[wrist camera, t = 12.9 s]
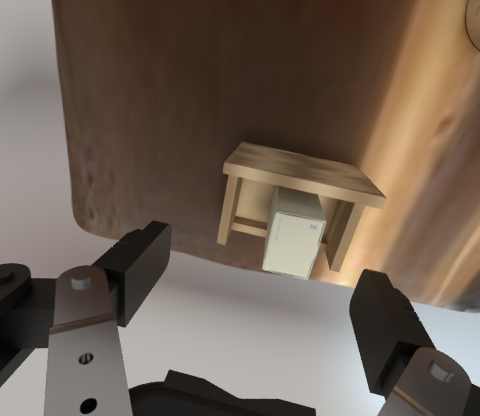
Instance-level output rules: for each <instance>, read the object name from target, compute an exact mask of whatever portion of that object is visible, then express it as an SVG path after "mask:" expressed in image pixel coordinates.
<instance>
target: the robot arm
mask: <svg viewBox="0 0 480 416" xmlns="http://www.w3.org/2000/svg"><path fill="white" fill-rule="evenodd" d="M466 26H467V31H468V34H469V37H470V39H471V41H472V42H473V44H474V45H475V46H476V47H477V48H478V49H479V50H480V0H469V2H468V5H467V12H466ZM171 232H172V227H171V225H170V224H166V223H162V222H158V221H152V222H151V223H150V224H148V225H147V226H146V227H145V228H144V229H143V230H140V229H137V230H134V231H132V232H130V233H127V234H126V235H125V236H124V237H123V238H121V239H120V240H119V242H117V243H116V244H115V245H114V246H113V247H111V248H110V249H109V250H108V251H107V252H106V253H105V254H103V255H102V256H101V257H100V258H99V259H98V260H97V261H95V262H94V263H93V264H92V265H91V266H87V265H85V266H78V267H74V268H71V269H69V270H67V271H65V272H64V273H62V274H61V275H60V276H59V277H58V278H56V279H50V278H47V279H45V278H31V274H30V269H29V268H28V267H27V266H25V265H22V264H15V263H8V264H1V265H0V387H1V386H2V385H3V384H4V383H5V382H6V381H7V379H8V378H9V377H10V376H11V375H12V374H13V373H14V371H15V370H16V369H17V368H18V367H19V366H20V365H21V364H22V363H23V362H24V360H25V359H26V358H27V357H28V356H29V355H30V354H31V353H32V352H33V350H34V349H35V348H48V360H47V375H46V389H45V404H44V416H316V410H315V409H314V408H310V407H306V406H303V405H299V404H295V403H292V402H288V401H284V400H281V399H240V398H237V397H235V396H233V395H231V394H230V393H228V392H226V391H224V390H223V389H221V388H219V387H217V386H215V385H214V384H212V383H210V382H209V381H207V380H205V379H203V378H199V377H195V376H192V375H188V374H184V373H180V372H177V371H173V370H169V371H168V374H167V376H166V378H165V381H164V382H151V383H146V384H142V385H138V386H136V387H133V388H130V389H128V385H127V380H126V374H125V368H124V362H123V357H122V351H121V345H120V339H119V334H118V327H117V326H121V327H126V326H127V324H128V323H129V322H130V320H131V318H132V317H133V316H134V314H135V313H136V311H137V310H138V308H139V307H140V306H141V304H142V303H143V301H144V300H145V298H146V297H147V295H148V294H149V293H150V291H151V290H152V288H153V287H154V285H155V284H156V282H157V281H158V280H159V278H160V277H161V275H162V274H163V272H164V271H165V269H166V267H167V265H168V262H169V257H170V245H171ZM349 312H350V318H351V322H352V325H353V329H354V333H355V337H356V340H357V344H358V348H359V352H360V356H361V360H362V364H363V367H364V371H365V375H366V379H367V383H368V387H369V390H370V393H374V394H377V395H381V396H384V397H385V400H386V402H385V404H384V405H383V407H382V409H381V410H380V412H379V414H378V416H480V387H478V386H476V385H474V384H472V383H471V381H470V379H469V376H468V375H467V373H466V372H465V370H464V369H463V368H462V367H461V366H460V365H459V364H458V363H457V362H455V360H453V359H452V358H451V357H449V356H448V355H446V354H444V353H443V352H440V351H438V350H436V348H435V346H434V344H433V343H432V341H431V339H430V337H429V335H428V334H427V332H426V330H425V328H424V326H423V325H422V323H421V321H419V317H418V316H417V314H416V312H414V309H413V307H412V305H411V303H410V301H409V299H408V298H407V297H406V296H405V295H403V294H402V293H401V292H400V291H399V290H398V289H396V288H393V286H392V284H391V282H390V280H389V278H388V276H387V274H386V273H382V272H378V271H373V270H369V269H364V270H363V272H362V274H361V276H360V278H359V281H358V283H357V286H356V288H355V291H354V293H353V295H352V298H351V301H350V308H349Z"/></svg>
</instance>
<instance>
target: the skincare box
mask: <svg viewBox="0 0 480 416" xmlns="http://www.w3.org/2000/svg"><path fill="white" fill-rule="evenodd" d="M325 225H326V219H325V216H324V213H323V209H322V206H321V203H320V200H319V196H318V194H314V193H309V192H305V191H300V190H296V189H291V188H287V187H282V186H278V185H275V188H274V192H273V196H272V201H271V205H270V210H269V215H268V223H267V231H266V240H265V249H264V259H263V270H267V271H270V272H274V273H278V274H282V275H287V276H291V277H295V278H300V279H304V280H307V279H308V278H309V275H310V272H311V269H312V266H313V264H314V261H315V258H316V255H317V252H318V249H319V245H320V242H321V239H322V235H323V232H324V229H325Z"/></svg>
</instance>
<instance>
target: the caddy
mask: <svg viewBox="0 0 480 416" xmlns="http://www.w3.org/2000/svg"><path fill="white" fill-rule="evenodd" d="M223 173H224V174H229V176H228V181H227V187H226V193H225V199H224V204H223V210H222V216H221V222H220V227H219V233H218V239H217V243H220V244H224V245H225V244H226V242H227V239H228V237H229V234H230V232H231V229H233V230H237V231H241V232H245V233H250V234H254V235H258V236H262V237H266V231H267V223H268V215H269V210H270V205H271V201H272V196H273V192H274V188H275V185H278V186H282V187H287V188H291V189H296V190H300V191H305V192H309V193H314V194H318V196H319V200H320V203H321V206H322V209H323V213H324V216H325V219H326V225H325V229H324V232H323V235H322V239H321V242H320V245H319V249H318V250H321V251H326V256H327V260H328V264H329V268H330V270H332V271H336V272H339V271H340V268H341V266H342V263H343V260H344V258H345V255H346V253H347V250H348V248H349V245H350V243H351V240H352V237H353V235H354V232H355V230H356V227H357V225H358V222H359V220H360V217H361V215H362V212H363V209H364V207H365V205H367V206H372V207H376V208H381V209H382V208H383V206H384V203H385V201H386V199H387V198H386V197H385V196H384V195H383V193H382V192H381V191H380V190H379V189H378V188H377V187H376V186H375V185H374V184H373V183H372V182H371V180H370V179H369V178H368V177H367V176H366V175H365V174H364V173H363V172H362V171H361V170H360V169H359V168H358V166H354V165H349V164H345V163H340V162H335V161H331V160H326V159H321V158H317V157H312V156H308V155H303V154H298V153H294V152H289V151H284V150H280V149H275V148H270V147H266V146H261V145H256V144H252V143H247V142H242V143H241V144H240V145H239V146H238V147H237V148H236V149H235V151H234V152H233V153H232V154H231V155H230V156H229V158H228V159H227V160H226V161H225V162H224V168H223Z"/></svg>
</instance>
